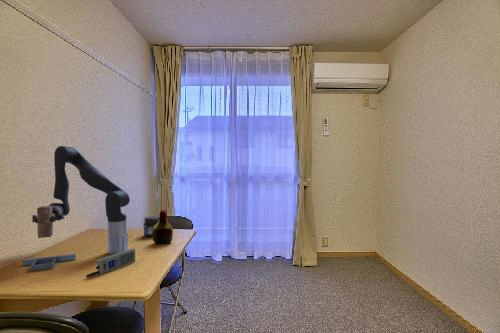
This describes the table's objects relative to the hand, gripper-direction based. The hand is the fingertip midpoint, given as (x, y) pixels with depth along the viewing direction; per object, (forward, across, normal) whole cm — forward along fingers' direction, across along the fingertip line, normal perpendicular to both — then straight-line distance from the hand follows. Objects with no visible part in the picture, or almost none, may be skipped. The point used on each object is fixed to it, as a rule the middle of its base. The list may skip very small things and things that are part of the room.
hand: (43, 220), depth 141 cm
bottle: (-21, +56, +22) cm, 64 cm away
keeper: (-2, +1, +22) cm, 22 cm away
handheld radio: (+15, +30, +22) cm, 40 cm away
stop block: (-3, 0, +8) cm, 8 cm away
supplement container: (-43, +51, +22) cm, 70 cm away
